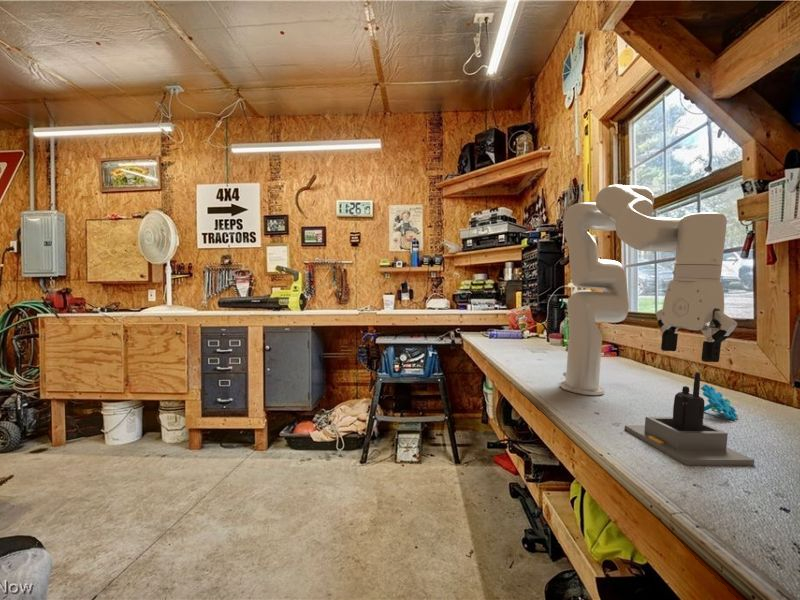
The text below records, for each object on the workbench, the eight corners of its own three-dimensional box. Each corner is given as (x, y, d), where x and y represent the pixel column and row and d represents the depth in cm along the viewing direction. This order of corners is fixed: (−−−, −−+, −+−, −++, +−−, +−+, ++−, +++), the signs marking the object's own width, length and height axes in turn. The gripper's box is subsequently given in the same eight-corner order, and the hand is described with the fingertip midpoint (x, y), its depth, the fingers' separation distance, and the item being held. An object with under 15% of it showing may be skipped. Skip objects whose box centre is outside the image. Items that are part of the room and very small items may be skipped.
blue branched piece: (729, 417, 88) (699, 382, 95) (706, 427, 92) (679, 393, 98) (748, 418, 93) (719, 384, 100) (726, 427, 97) (699, 394, 103)
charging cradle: (624, 429, 82) (625, 410, 82) (680, 430, 83) (681, 411, 83) (685, 465, 66) (687, 441, 66) (754, 465, 67) (756, 441, 67)
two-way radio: (705, 446, 72) (711, 374, 71) (687, 447, 71) (693, 374, 70) (680, 435, 77) (685, 367, 77) (662, 435, 77) (668, 367, 76)
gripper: (646, 273, 81) (639, 346, 82) (721, 273, 64) (710, 366, 65) (677, 275, 82) (669, 347, 83) (758, 275, 65) (747, 367, 66)
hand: (687, 355), depth 74 cm, fingers open, 9 cm apart
